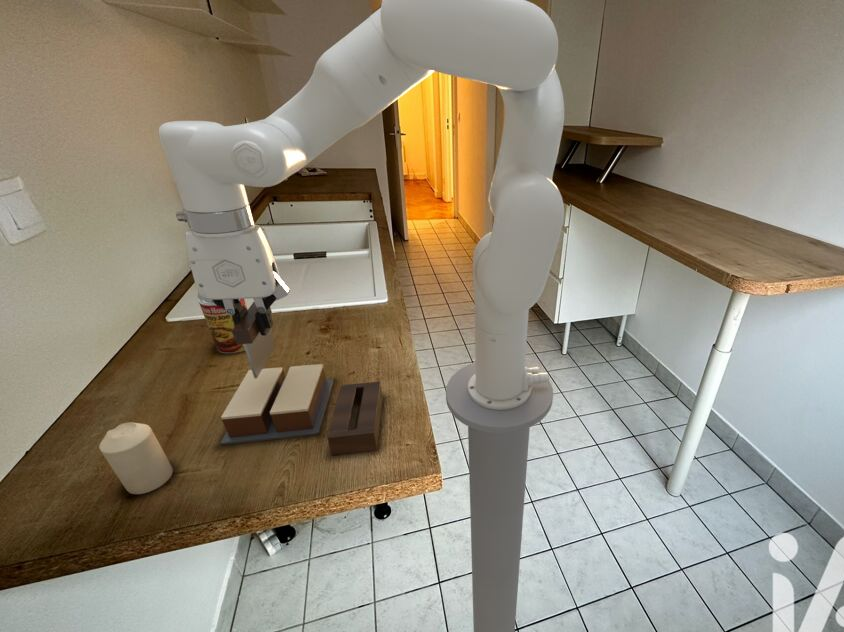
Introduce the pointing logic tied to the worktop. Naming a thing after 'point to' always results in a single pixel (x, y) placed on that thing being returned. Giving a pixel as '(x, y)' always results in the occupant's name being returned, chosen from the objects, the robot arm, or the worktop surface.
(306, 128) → the robot arm
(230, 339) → the canned food
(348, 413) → the knife block
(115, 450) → the candle
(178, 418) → the worktop surface
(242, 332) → the cake cutter
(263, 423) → the cake
